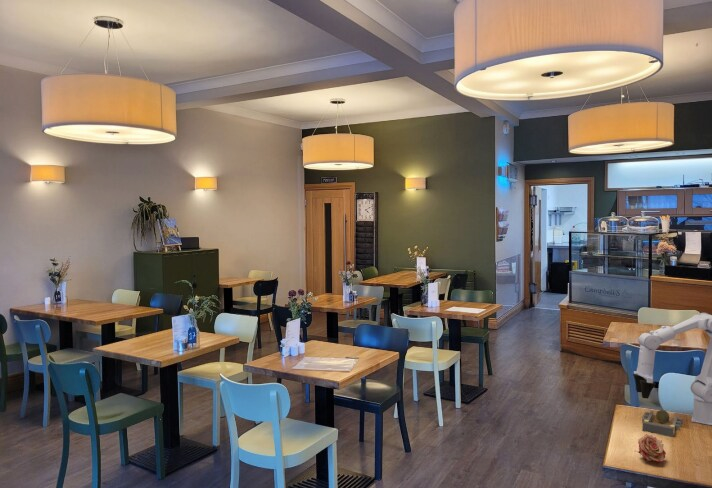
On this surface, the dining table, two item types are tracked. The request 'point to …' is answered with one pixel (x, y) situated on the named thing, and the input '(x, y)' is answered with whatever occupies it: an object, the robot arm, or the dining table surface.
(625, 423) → the dining table surface
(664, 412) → the lime
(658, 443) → the flower
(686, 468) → the dining table surface
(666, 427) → the grey u-shaped block
